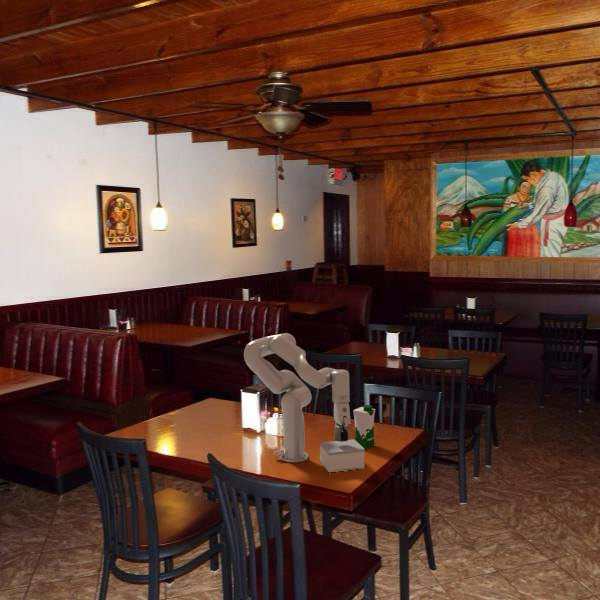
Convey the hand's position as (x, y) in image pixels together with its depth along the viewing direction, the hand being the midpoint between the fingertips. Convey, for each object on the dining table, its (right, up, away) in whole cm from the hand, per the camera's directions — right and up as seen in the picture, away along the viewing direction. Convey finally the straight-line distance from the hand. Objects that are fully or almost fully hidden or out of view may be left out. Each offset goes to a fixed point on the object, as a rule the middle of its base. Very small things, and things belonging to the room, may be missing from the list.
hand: (341, 437), depth 270 cm
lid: (0, -4, 0) cm, 4 cm away
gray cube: (0, -1, 0) cm, 1 cm away
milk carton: (+13, -10, +26) cm, 31 cm away
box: (0, -13, +1) cm, 13 cm away
